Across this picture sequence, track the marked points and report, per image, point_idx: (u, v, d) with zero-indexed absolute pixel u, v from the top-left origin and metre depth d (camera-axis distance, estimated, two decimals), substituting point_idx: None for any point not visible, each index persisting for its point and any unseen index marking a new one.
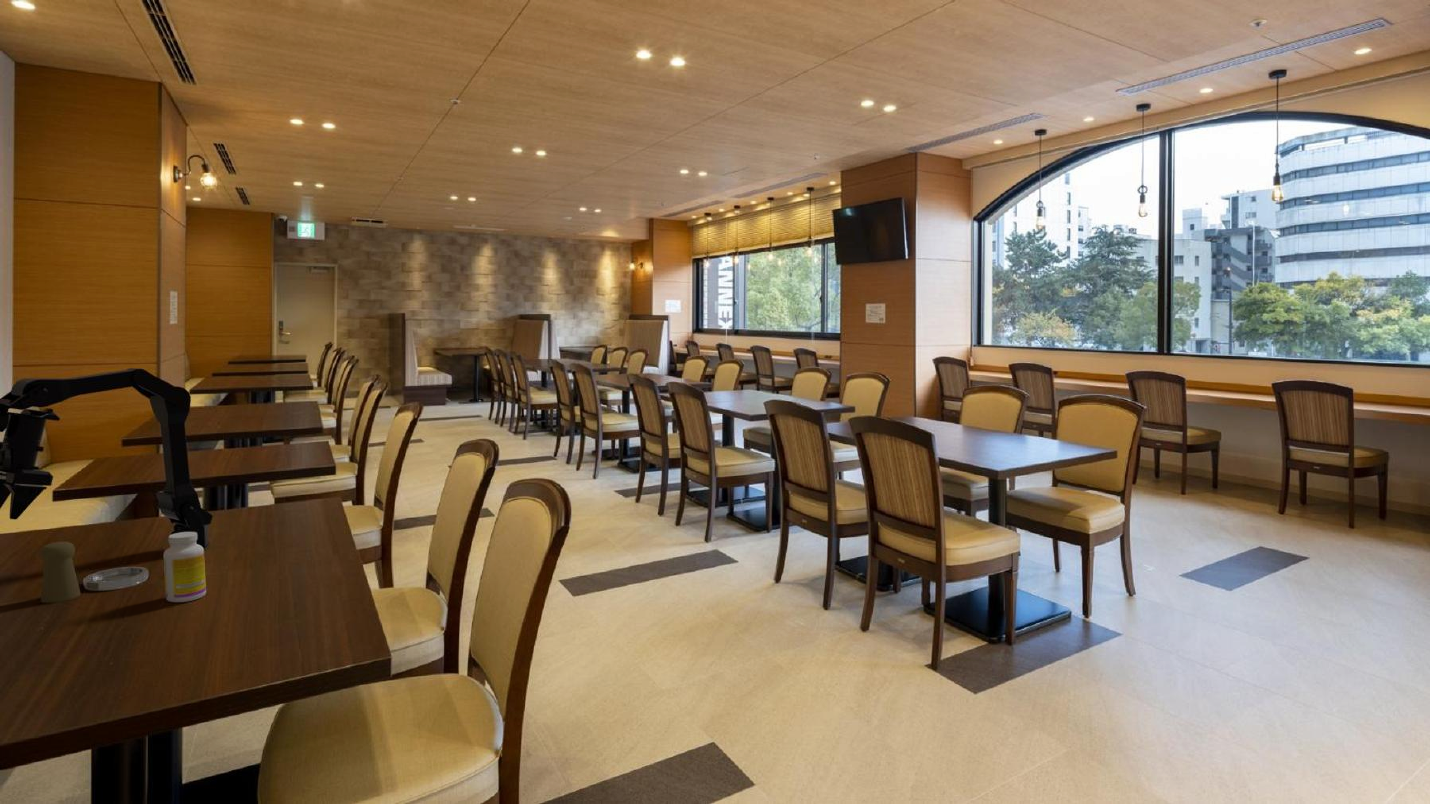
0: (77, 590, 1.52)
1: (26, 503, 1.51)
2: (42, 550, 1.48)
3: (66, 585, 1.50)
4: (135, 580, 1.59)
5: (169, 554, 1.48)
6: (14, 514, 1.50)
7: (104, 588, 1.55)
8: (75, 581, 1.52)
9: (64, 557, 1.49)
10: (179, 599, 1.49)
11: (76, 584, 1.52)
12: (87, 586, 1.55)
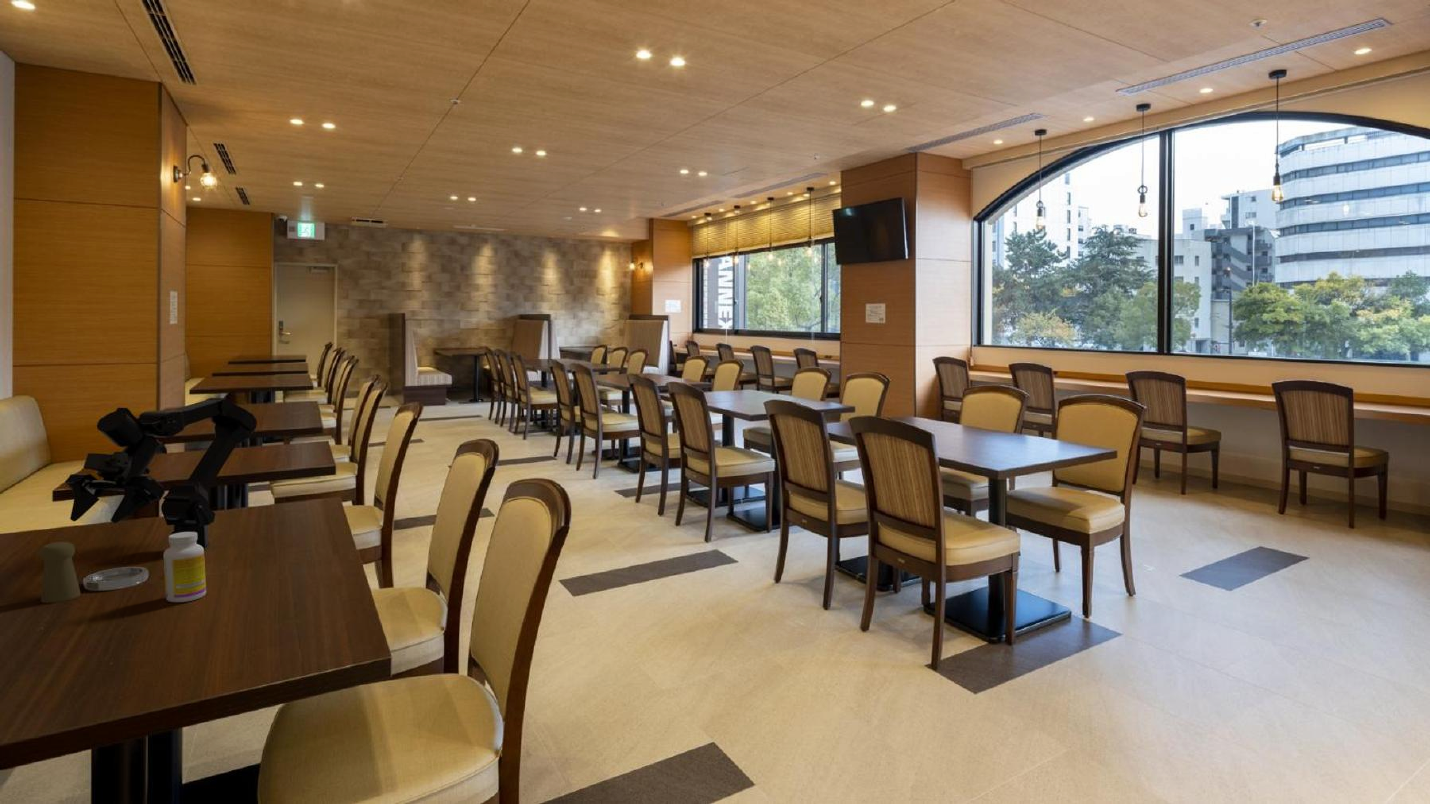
0: (77, 590, 1.52)
1: (130, 510, 1.60)
2: (42, 550, 1.48)
3: (66, 585, 1.50)
4: (135, 580, 1.59)
5: (169, 554, 1.48)
6: (116, 517, 1.58)
7: (104, 588, 1.55)
8: (75, 581, 1.52)
9: (64, 557, 1.49)
10: (179, 599, 1.49)
11: (76, 584, 1.52)
12: (87, 586, 1.55)
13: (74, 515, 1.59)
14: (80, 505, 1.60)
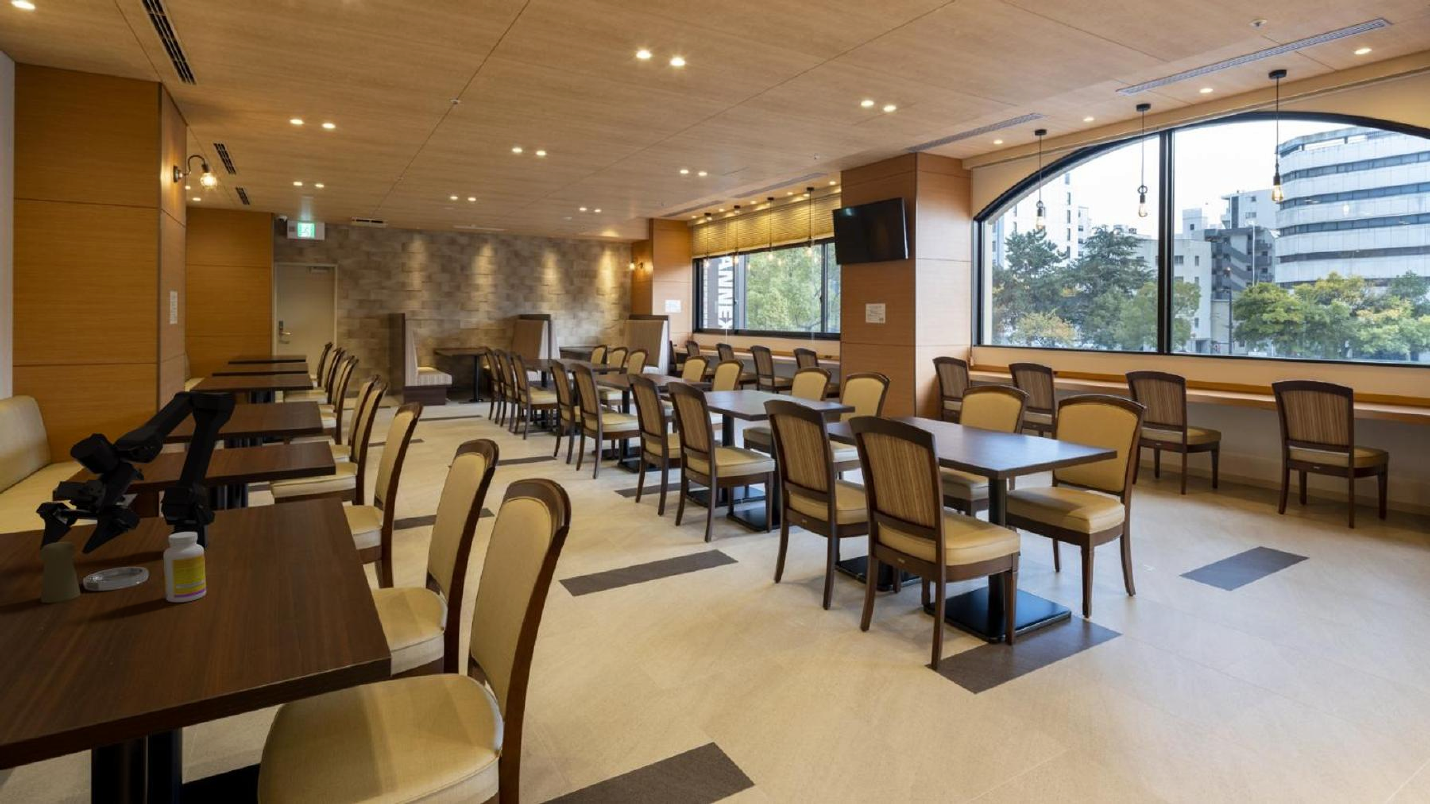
0: (77, 590, 1.52)
1: (103, 541, 1.54)
2: (42, 550, 1.48)
3: (66, 585, 1.50)
4: (135, 580, 1.59)
5: (169, 554, 1.48)
6: (88, 548, 1.51)
7: (104, 588, 1.55)
8: (75, 581, 1.52)
9: (64, 557, 1.49)
10: (179, 599, 1.49)
11: (76, 584, 1.52)
12: (87, 586, 1.55)
13: None
14: (51, 535, 1.54)
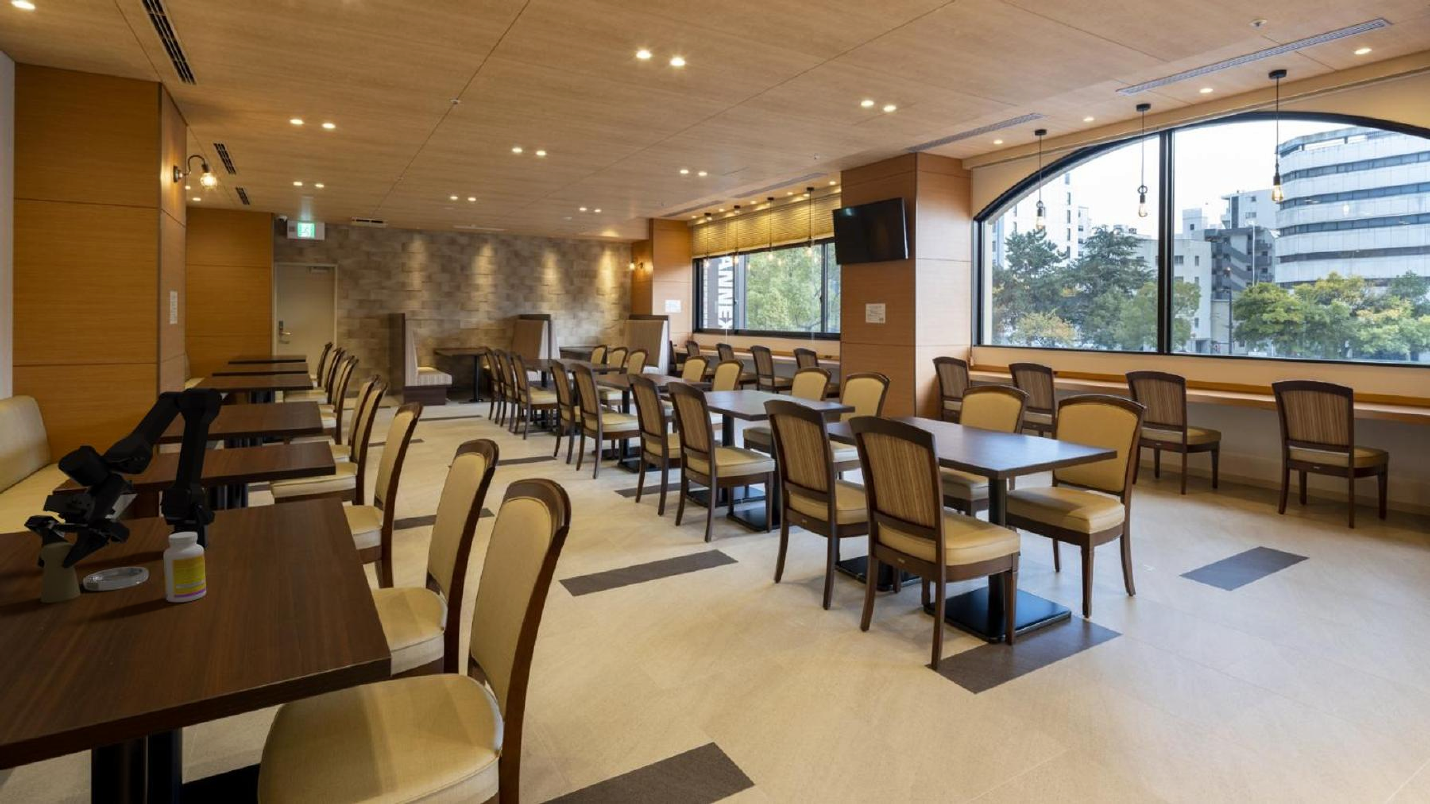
0: (77, 590, 1.52)
1: (83, 554, 1.52)
2: (42, 550, 1.48)
3: (66, 585, 1.50)
4: (135, 580, 1.59)
5: (169, 554, 1.48)
6: (68, 563, 1.49)
7: (104, 588, 1.55)
8: (75, 581, 1.52)
9: (64, 557, 1.49)
10: (179, 599, 1.49)
11: (76, 584, 1.52)
12: (87, 586, 1.55)
13: (41, 561, 1.50)
14: None
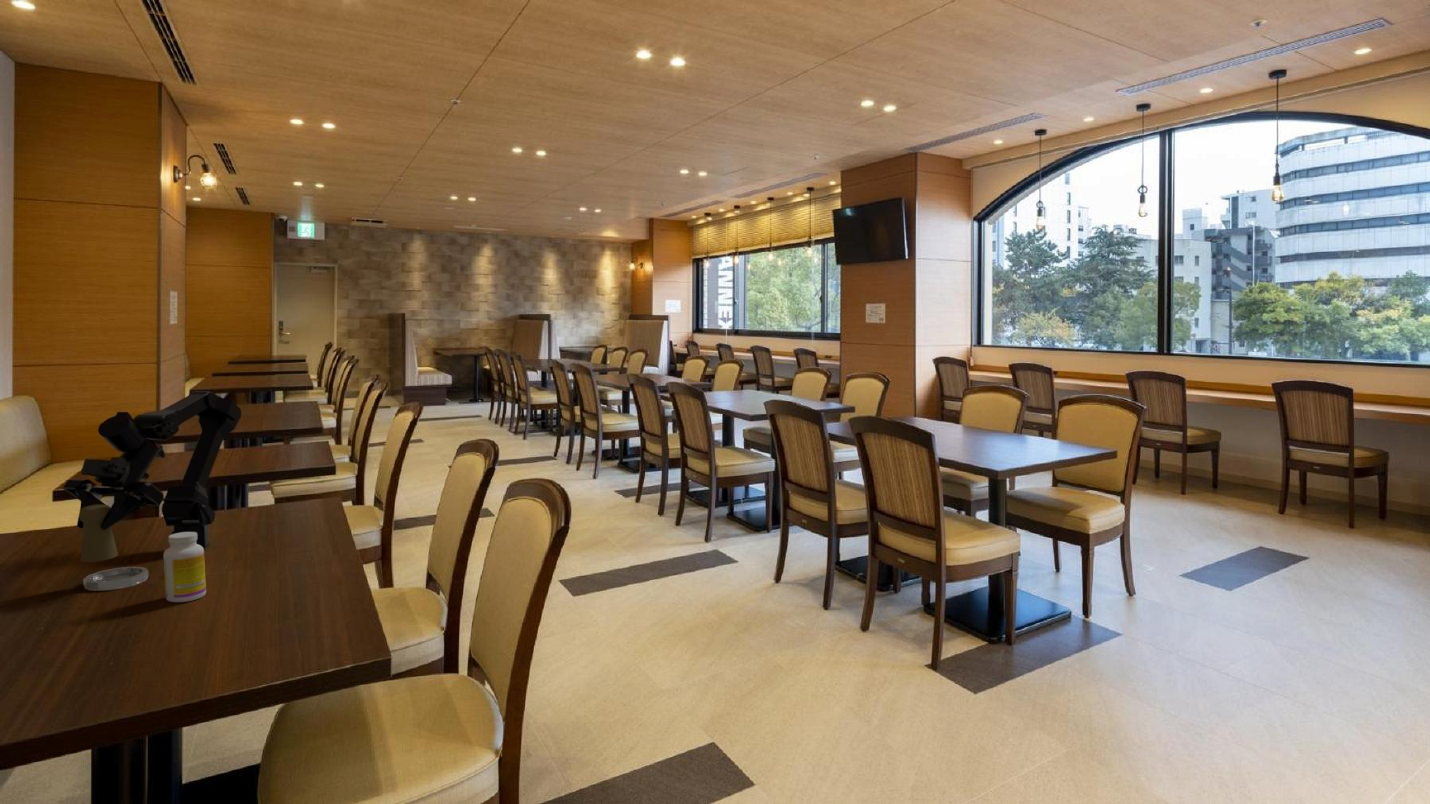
0: (115, 550, 1.58)
1: (120, 516, 1.58)
2: (81, 512, 1.54)
3: (105, 545, 1.56)
4: (135, 580, 1.59)
5: (169, 554, 1.48)
6: (106, 524, 1.55)
7: (104, 588, 1.55)
8: (113, 542, 1.58)
9: (102, 518, 1.55)
10: (179, 599, 1.49)
11: (114, 545, 1.58)
12: (87, 586, 1.55)
13: (81, 522, 1.56)
14: None
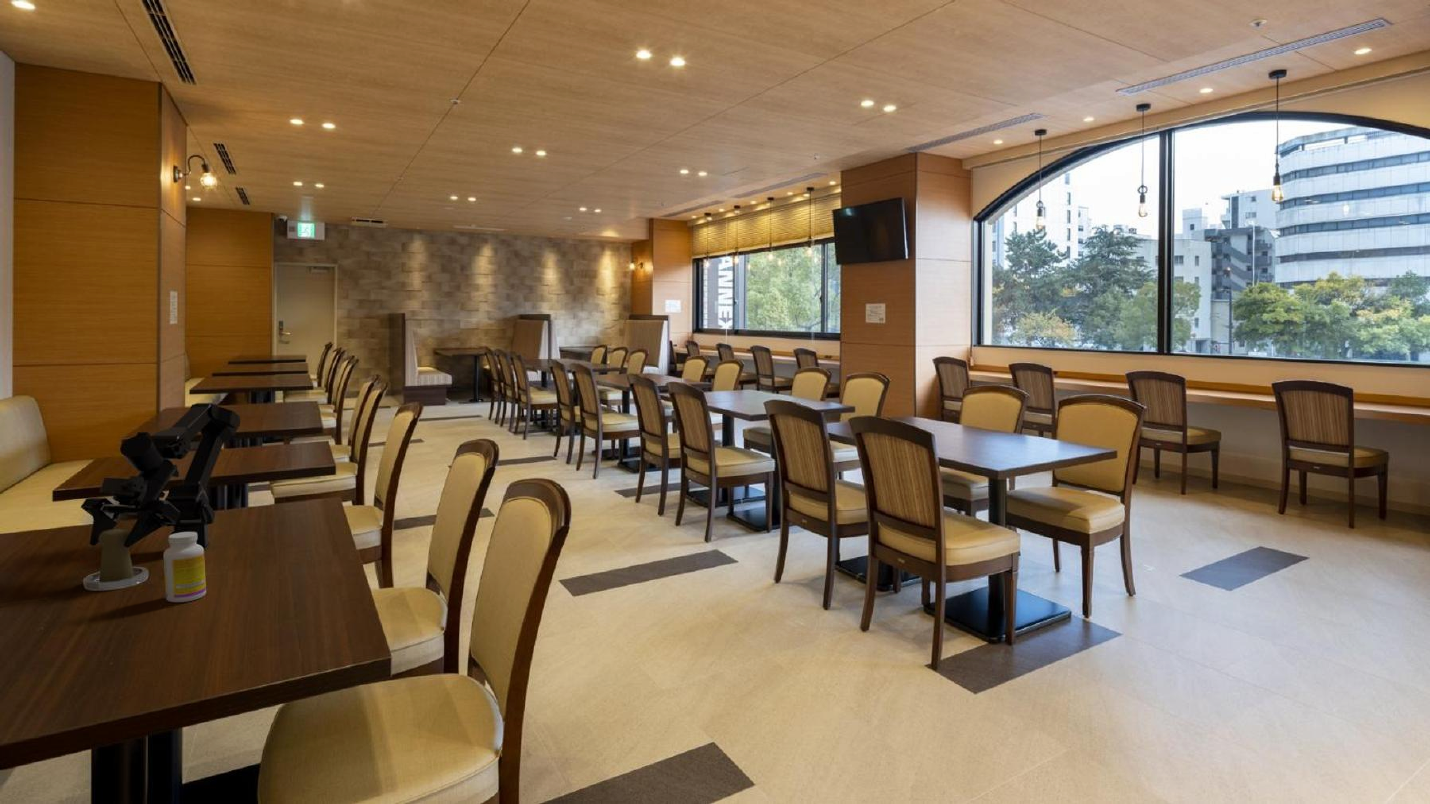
0: (132, 574, 1.61)
1: (142, 534, 1.60)
2: (100, 536, 1.57)
3: (123, 569, 1.59)
4: (135, 580, 1.59)
5: (169, 554, 1.48)
6: (129, 542, 1.58)
7: (104, 588, 1.55)
8: (130, 565, 1.61)
9: (121, 543, 1.59)
10: (179, 599, 1.49)
11: (131, 568, 1.61)
12: (87, 586, 1.55)
13: (93, 540, 1.59)
14: (99, 529, 1.60)
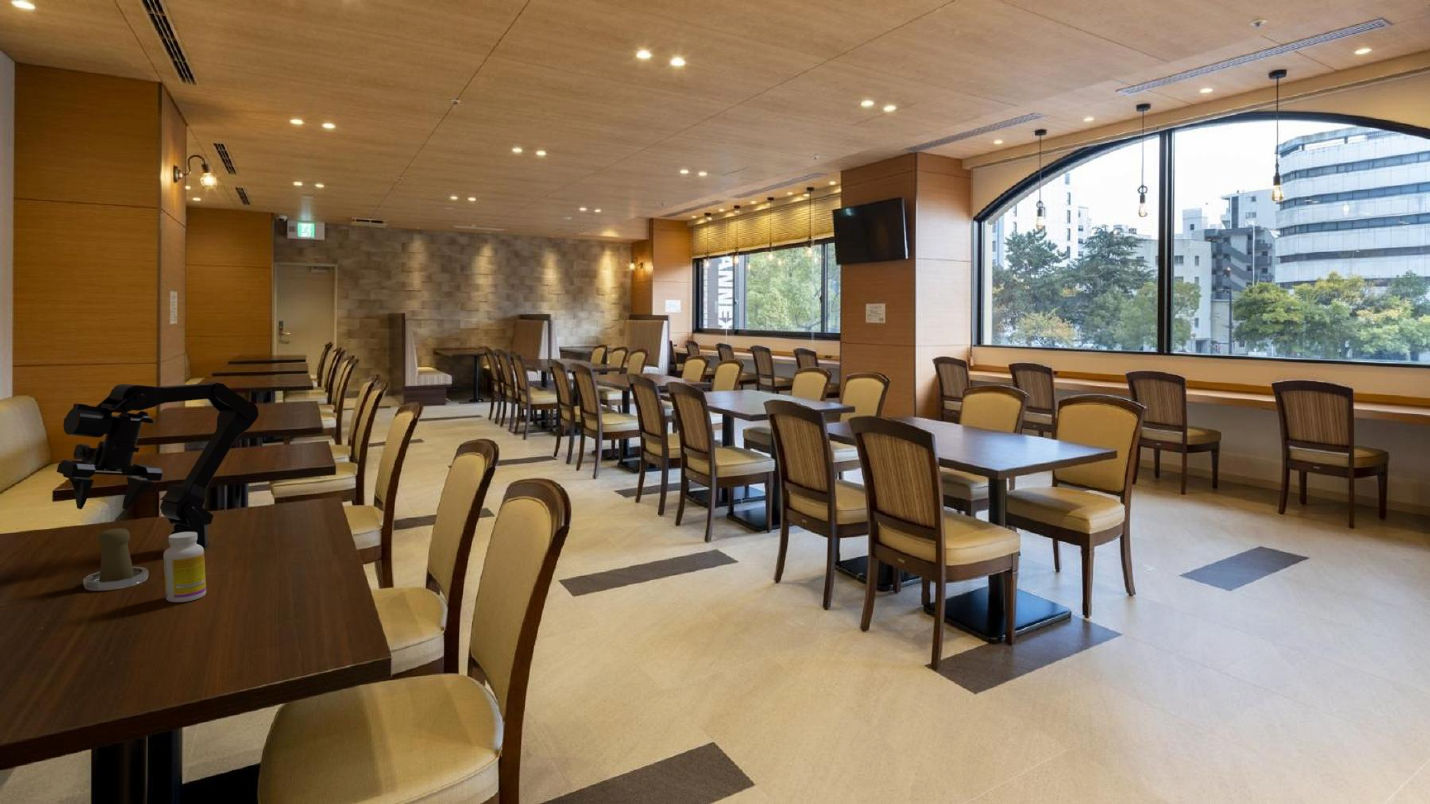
0: (132, 574, 1.61)
1: (80, 494, 1.63)
2: (100, 536, 1.57)
3: (123, 569, 1.59)
4: (135, 580, 1.59)
5: (169, 554, 1.48)
6: (77, 504, 1.64)
7: (104, 588, 1.55)
8: (130, 565, 1.61)
9: (121, 543, 1.59)
10: (179, 599, 1.49)
11: (131, 568, 1.61)
12: (87, 586, 1.55)
13: (123, 504, 1.73)
14: (128, 494, 1.73)
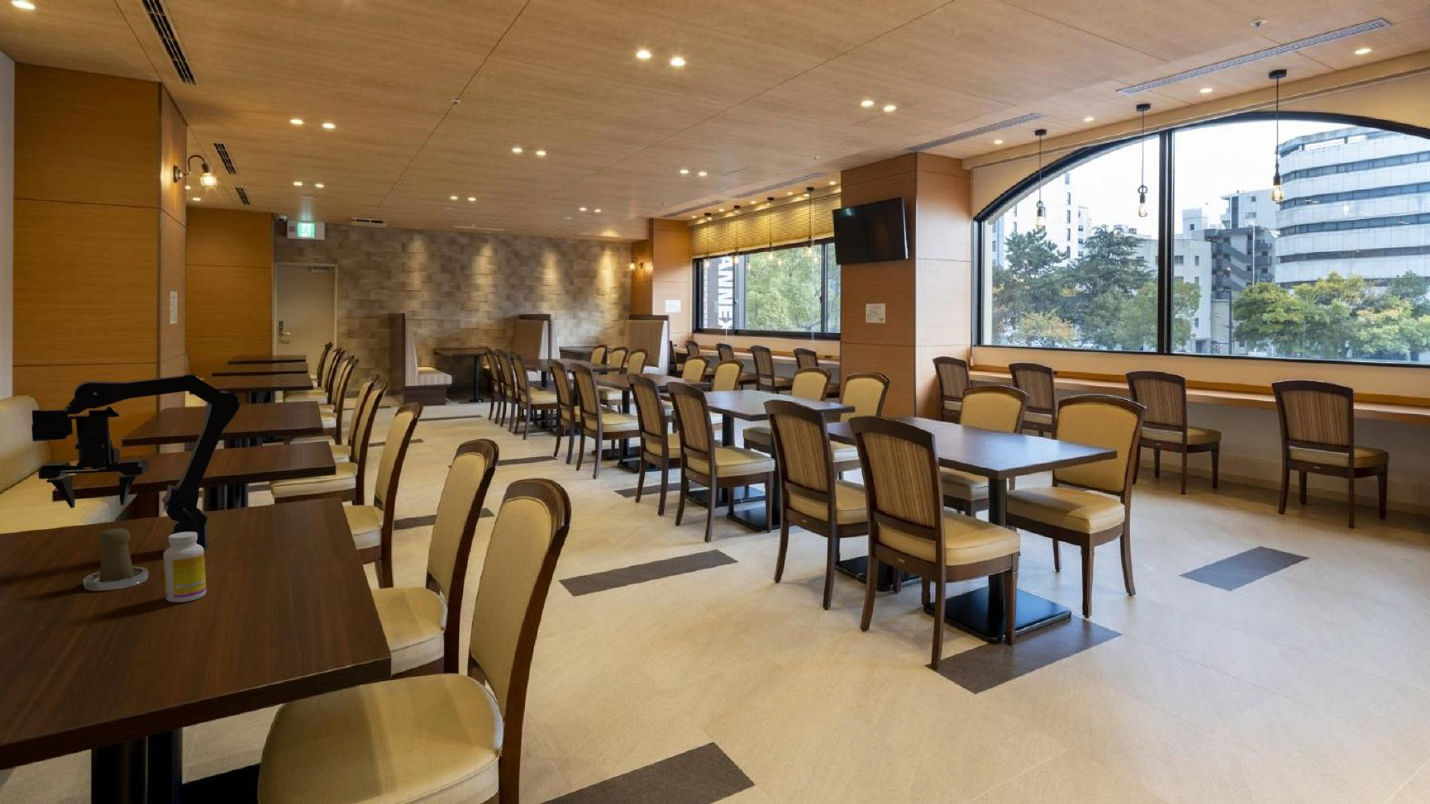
0: (132, 574, 1.61)
1: None
2: (100, 536, 1.57)
3: (123, 569, 1.59)
4: (135, 580, 1.59)
5: (169, 554, 1.48)
6: None
7: (104, 588, 1.55)
8: (130, 565, 1.61)
9: (121, 543, 1.59)
10: (179, 599, 1.49)
11: (131, 568, 1.61)
12: (87, 586, 1.55)
13: None
14: None
